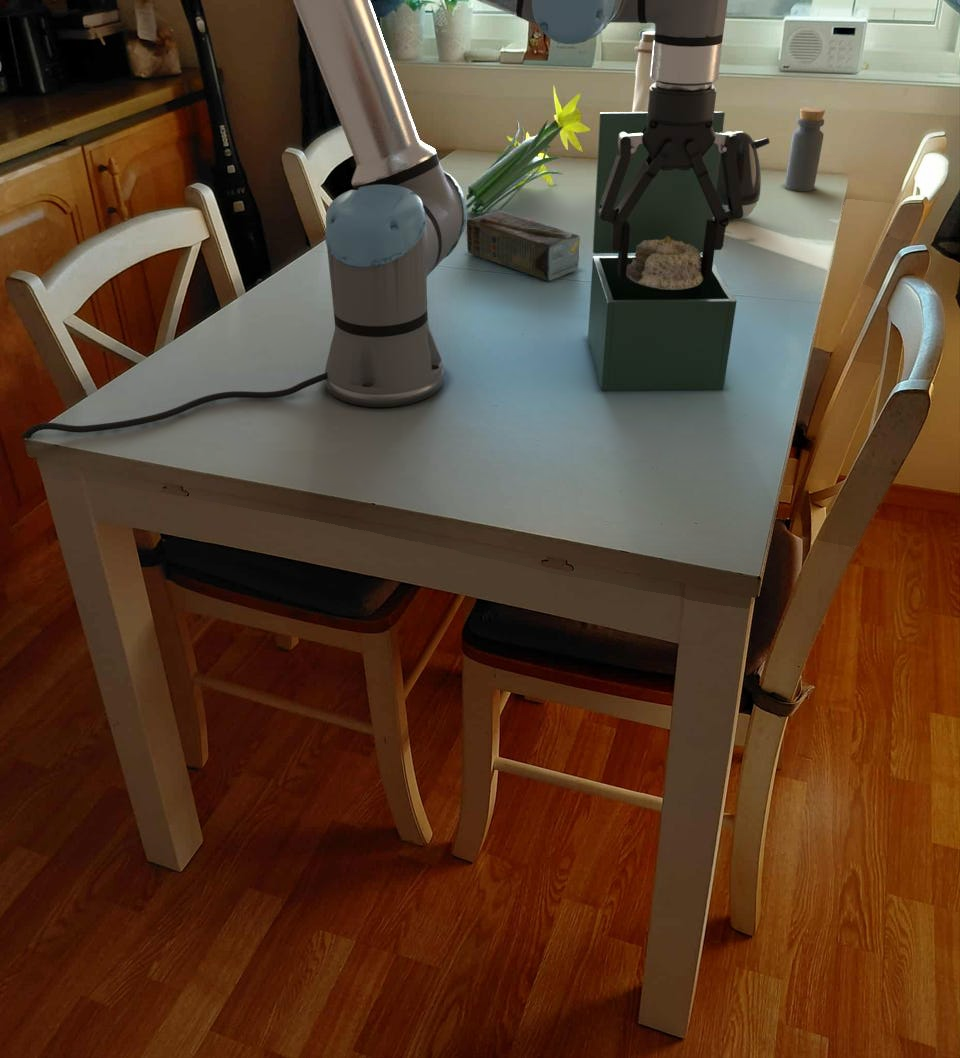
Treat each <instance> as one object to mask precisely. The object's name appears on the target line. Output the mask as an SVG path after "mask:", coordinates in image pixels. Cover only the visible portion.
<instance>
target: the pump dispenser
mask: <svg viewBox="0 0 960 1058" xmlns="http://www.w3.org/2000/svg"><path fill="white" fill-rule="evenodd" d="M733 133H734V134H735V135H736V136H737V137H738V139H739V142H738V146H737V151H736V164H737V171H738V178H739V185H740V193H741V200H742V207H743V217H742V218H741V219H738V220H737V219H734V220H732V221H731V222H735V221H741V220H744V219H746V218H747V217H749V215H751V214H752V213H753V211H754V209H755V208H756V206H757V203H758V202H759V201H760V198H761V191H762V190H761V189H762V175H761V174H762V173H761V165H760V164H761V163H760V158H759V154H758V149H761V148H762V147H765V146H767V145H770V138H769V137H765V138H761V139H758V140H754V139H753V138H752V136H751V135H750V134H748V133H747V132H745V131H734V132H733ZM716 192H717V195H718V197H719V199H720V202H721V204H722V206H723V209H725V208H728V200H727V193H726V187H725V180H724V173H723V166H722V159H721V153H720V161H719V171H718V180H717V189H716Z"/></svg>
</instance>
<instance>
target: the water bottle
mask: <svg viewBox="0 0 960 1058" xmlns="http://www.w3.org/2000/svg"><path fill="white" fill-rule="evenodd" d="M654 33H655V30H649V31H642V33H641V39H640V41H639V45H637V46H635V47H634V51H635V52H637V60H636V66H635V81H634V82H635V83H634V92H633V100H632V110H631V112H647V111H648V100H649V88H650V87H651V86H652V84H653V83H655V81H654V80H653V79H652V78H651V67H652V56H653V46H654Z"/></svg>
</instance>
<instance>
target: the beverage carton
mask: <svg viewBox="0 0 960 1058" xmlns="http://www.w3.org/2000/svg"><path fill="white" fill-rule="evenodd" d="M580 240H581V236H580V235H578V234H576V233H572V232H570V231H566V230H563V229H561V228H558V227H555V226H551V225H549V224H545V223H542V222H539V221H536V220H532V219H530V218H526V217H523V216H519V215H516V214H514V213H511V212H507V211H505V210H498V209H495V210H493V211H490V212H488V213H487V212H486V213H485V214H482V215H480V214H479V215H478V216H475V217H471V218H467V219H466V242H467V244H466V245H467V254H469V255H473V256H476V257H479V258H482V259H484V260H487V261H491V262H493V263H496V264H498V265H501V266H504V267H507V268H510V269H513V270H516V271H518V272H522V273H524V274H527V275H530V276H533V277H535V278H539V279H541V280H544V281H547V282H550V281H554V280H555V279H559V278H560V277H563V276H565V275H568V274H570V273H572V272H575V271H577V270H578V269H579V265H580V264H579V262H580V242H581V241H580Z"/></svg>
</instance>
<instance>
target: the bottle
mask: <svg viewBox="0 0 960 1058" xmlns="http://www.w3.org/2000/svg"><path fill="white" fill-rule="evenodd" d="M799 110H800V111H799V115H800V117H798V118H797V120H796V124H797V125H798V126H799V127H798V128H797V129H796V130H794V131H793V133H792V138H791V144H790V150H789V157H788V163H787V167H786V175H785V181H784V188H785V189H787V190H791V191H794V192H809V191H812V190H814V189H815V185H816V179H817V174H818V169H819V164H820V159H821V152H822V147H823V140H824V136H825V134H824V132H823V131H822V130H821V127H823V126H824V125H825V119H824V115H825V112H826V110H825V109H824V108H822V107H815V106H805V107H801V108H800V109H799Z"/></svg>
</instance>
